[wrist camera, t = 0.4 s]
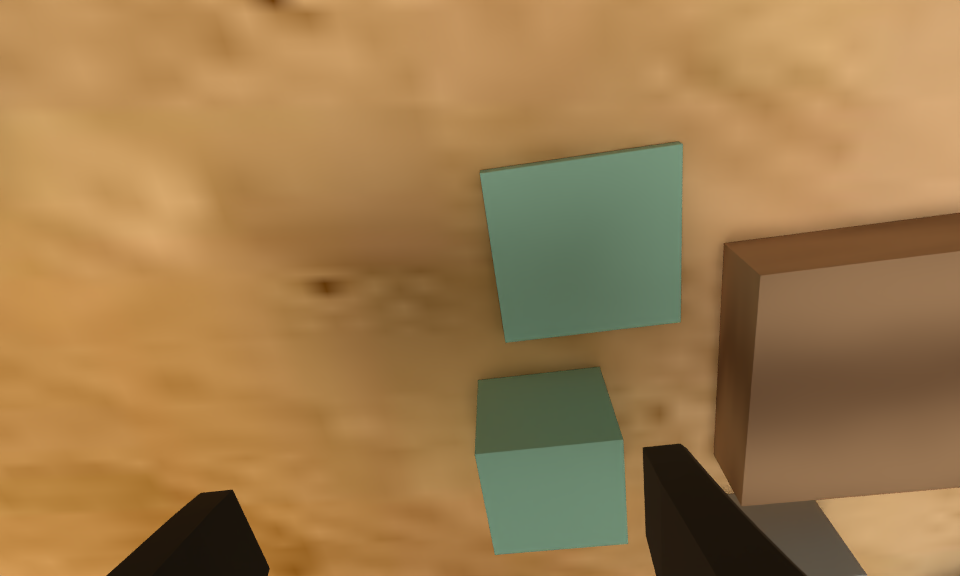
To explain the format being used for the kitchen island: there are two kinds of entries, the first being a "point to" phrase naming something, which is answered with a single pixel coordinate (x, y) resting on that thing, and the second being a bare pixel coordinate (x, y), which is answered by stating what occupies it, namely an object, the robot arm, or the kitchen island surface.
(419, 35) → the kitchen island surface
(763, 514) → the slate block
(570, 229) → the teal square tile
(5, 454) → the kitchen island surface
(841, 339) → the walnut block
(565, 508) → the teal block
